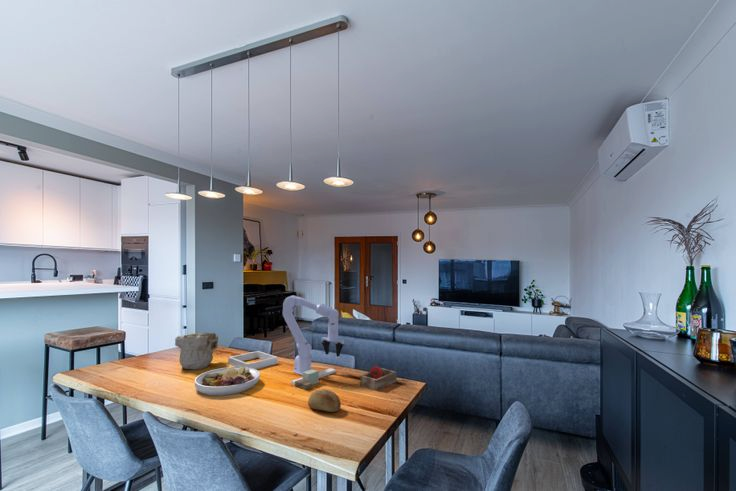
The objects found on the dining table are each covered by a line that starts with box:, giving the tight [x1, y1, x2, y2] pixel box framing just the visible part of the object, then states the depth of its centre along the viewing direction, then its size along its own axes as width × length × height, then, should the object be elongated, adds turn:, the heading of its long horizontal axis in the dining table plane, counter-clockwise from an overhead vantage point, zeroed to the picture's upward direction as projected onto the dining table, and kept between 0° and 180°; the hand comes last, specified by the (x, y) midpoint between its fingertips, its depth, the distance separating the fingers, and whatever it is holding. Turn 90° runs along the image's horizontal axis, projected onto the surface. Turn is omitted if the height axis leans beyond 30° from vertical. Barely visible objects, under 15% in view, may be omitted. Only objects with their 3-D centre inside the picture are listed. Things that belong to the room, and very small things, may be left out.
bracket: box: [369, 365, 391, 388], centre depth 170 cm, size 12×4×8 cm, turn 65°
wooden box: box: [359, 367, 397, 392], centre depth 170 cm, size 10×17×5 cm, turn 141°
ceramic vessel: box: [174, 331, 219, 370], centre depth 197 cm, size 23×24×25 cm
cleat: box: [294, 379, 313, 391], centre depth 164 cm, size 8×4×2 cm, turn 51°
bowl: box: [194, 366, 261, 396], centre depth 165 cm, size 30×30×8 cm
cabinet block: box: [301, 368, 320, 386], centre depth 169 cm, size 4×7×6 cm, turn 141°
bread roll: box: [307, 388, 342, 413], centre depth 139 cm, size 10×15×8 cm, turn 68°
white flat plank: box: [290, 367, 336, 386], centre depth 178 cm, size 4×28×2 cm, turn 141°
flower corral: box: [227, 350, 279, 370], centre depth 201 cm, size 21×20×4 cm
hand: (332, 355), depth 187 cm, fingers open, 7 cm apart
